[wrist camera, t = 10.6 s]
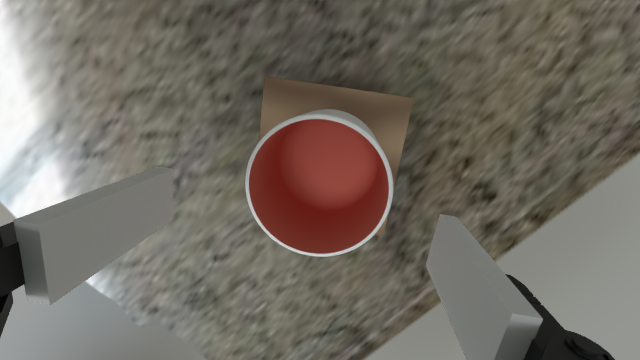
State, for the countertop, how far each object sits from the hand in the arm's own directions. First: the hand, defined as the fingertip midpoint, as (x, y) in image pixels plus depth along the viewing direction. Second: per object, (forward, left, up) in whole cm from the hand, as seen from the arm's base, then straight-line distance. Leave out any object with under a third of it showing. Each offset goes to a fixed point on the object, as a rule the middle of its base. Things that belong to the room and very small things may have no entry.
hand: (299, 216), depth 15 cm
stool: (0, 0, -24) cm, 24 cm away
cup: (0, 0, -16) cm, 16 cm away
